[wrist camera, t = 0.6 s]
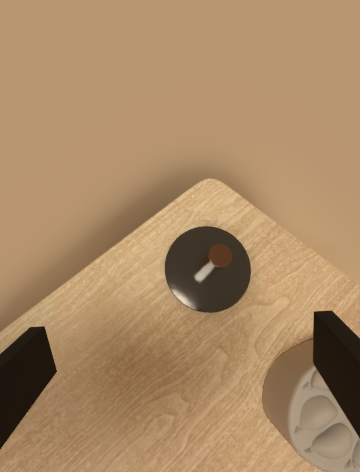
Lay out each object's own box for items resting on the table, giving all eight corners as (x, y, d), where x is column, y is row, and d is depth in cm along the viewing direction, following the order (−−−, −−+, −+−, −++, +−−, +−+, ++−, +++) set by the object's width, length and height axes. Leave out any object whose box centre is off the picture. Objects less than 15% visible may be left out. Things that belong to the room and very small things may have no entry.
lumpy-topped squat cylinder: (368, 404, 31) (440, 441, 23) (287, 457, 29) (333, 519, 21) (324, 329, 34) (374, 338, 25) (246, 373, 32) (272, 399, 24)
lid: (148, 277, 35) (138, 268, 25) (196, 213, 38) (205, 182, 28) (218, 330, 33) (238, 342, 23) (263, 259, 36) (297, 243, 26)
